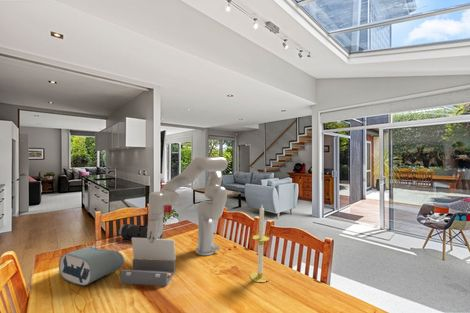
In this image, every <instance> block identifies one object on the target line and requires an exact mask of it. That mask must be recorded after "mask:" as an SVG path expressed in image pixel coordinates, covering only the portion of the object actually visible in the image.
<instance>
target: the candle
mask: <svg viewBox="0 0 470 313" xmlns="http://www.w3.org/2000/svg"><path fill="white" fill-rule="evenodd" d="M263 206H264V205H263V204H261V206H260V208H259V220H258V221H259V224H258V228H259V229H258V234H254V235H253V236H252V239H253V240H254V241H256V242H258V246H257V247H258V250H257V271H253V272H252V273H251V274H250V276H249V278H250V277H251V278H250V279H251V280H252V281H253V280H254V281H253V282H255V281H256V282H255V283H257V282H265V283H267V282H266V280H263V279H262V278H263V272H264V243H265V242H268V241H269V240H270V236H269V235H266V234H264V226H265V225H264V221H265V219H264V218H265V209H264V207H263ZM254 272H255V273H254ZM256 272H258V274H257V273H256ZM261 279H262V280H261ZM265 279H266V277H265Z"/></svg>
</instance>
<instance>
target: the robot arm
mask: <svg viewBox="0 0 470 313" xmlns="http://www.w3.org/2000/svg"><path fill="white" fill-rule="evenodd" d="M228 165H229V163H228V159H226V158H225V157H222V156H208V157H207V156H206V157H204V156H197V157H196V156H195V158H193V159H192V160H191V161H190V163H189V164H188V165H187V166H186V167H185V168H184V169H183V171H182V172H180V173H179V174H178V175H175V176H174V177H173V178H171V179H169V181H167V182H166V183H165V184H164V185H163V186H162V188H161V189H160V190H159V191H153V192H150V193H149V194H148V195H149V196H148V221H147V222H148V223H147V226H148V229H147V239H149V238H151V239H150V243H153V239H160V236H161V235H162V236H163V234H162V233H164V216H165V215H164V214H165V213H164V211H165V206H174V205H177V204H178V203H179V202H180V199H181V197H180V195H179V193H178V192H176V191H177V190H178V189H180V188H182V187H186V186H188V185H191V184H192V183H194V181H195V180H196V179H197V178H198V176H199V175H200V174H201V173H202V172H205V173H208V176H209V177H208V180H207V183H206V187H205V189H204V198H206V199H208V200H202V201H201V202H199V203H198V205H197V208H196V213H197V218H198V219H197V220H198V224H197V225H198V228H197V230H198V231H197V235H198V236H197V247H196V248H195V254H197V255H199V256H205V257H206V256H211V255H213V254H215V253H216V250H217V251H220V250H221V246H219V245H217V244H216V245H215V242H214V231H215V230H214V228H215V227H214V224H215V222H214V221H217V220H219V219H220V218H221V217H222V216H223V213H224V208H225V206H226V203H227V199H228V198H227V197H228V191H227V189H226V188H225V187H224V186H221V185H222V181H223V174H222V172H223V171H225V170H226V169H227V168H228ZM209 200H210V201H209Z"/></svg>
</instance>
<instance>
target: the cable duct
mask: <svg viewBox="0 0 470 313" xmlns="http://www.w3.org/2000/svg"><path fill="white" fill-rule="evenodd" d="M175 273H176V260H175V261H171V260H153V259H135V258H133V259H132V269H123V268H122V269H121V270H120V284H125V285H140V286H141V285H144V286H145V285H146V286H160V287H161V286H162V287H167V286H168V284H169V282H170V281H171V280H172V278H173V276H174V275H175Z"/></svg>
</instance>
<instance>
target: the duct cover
mask: <svg viewBox="0 0 470 313" xmlns="http://www.w3.org/2000/svg"><path fill="white" fill-rule="evenodd" d="M150 239H151V238H149V239H147V238H133V237H132V239H131V245H132V246H131V247H132V253H133V259H149V260H167V261H175V262H176V247H175V246H176V245H175V239H171V238H170V239H169V238H161V239H153V243H150Z"/></svg>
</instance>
